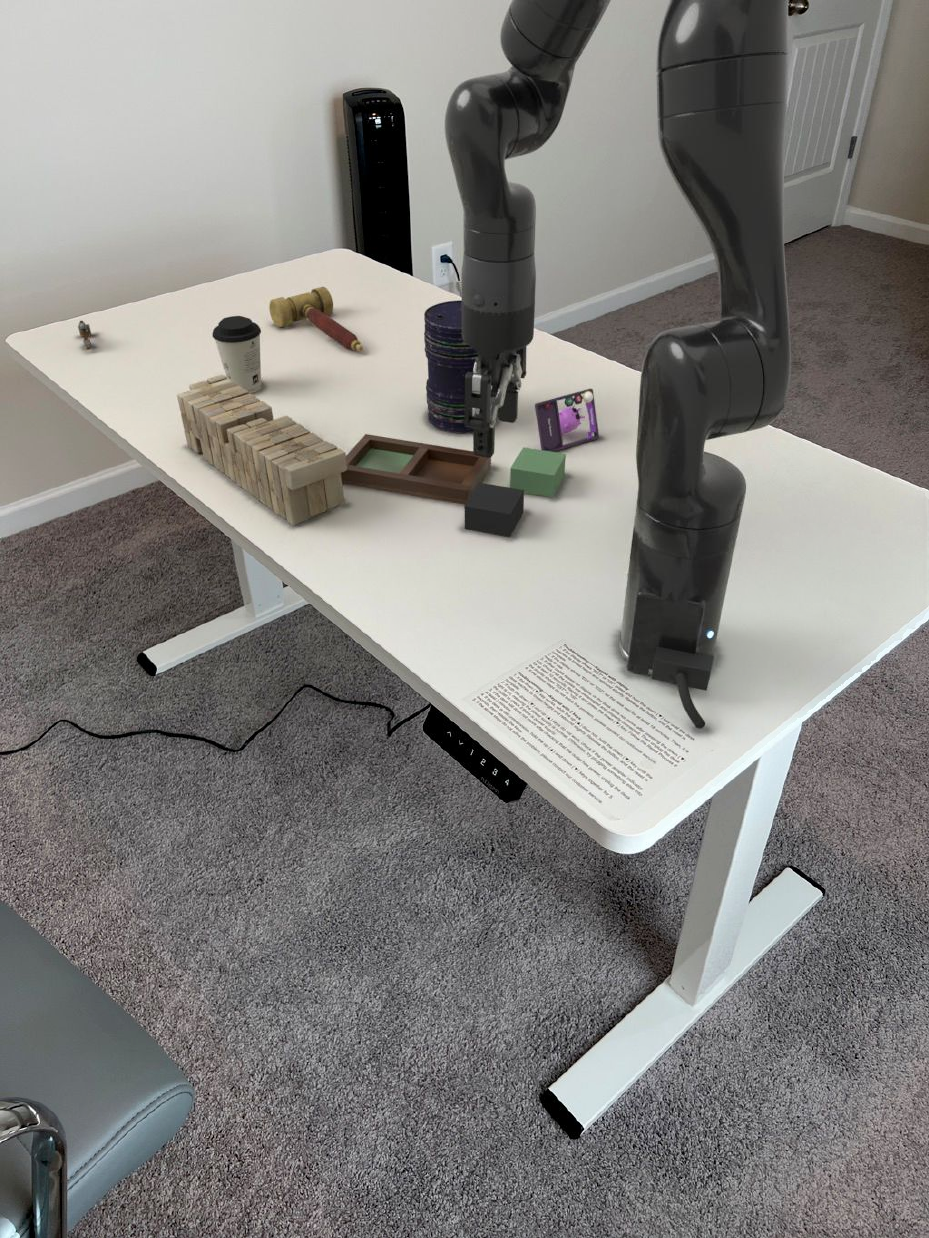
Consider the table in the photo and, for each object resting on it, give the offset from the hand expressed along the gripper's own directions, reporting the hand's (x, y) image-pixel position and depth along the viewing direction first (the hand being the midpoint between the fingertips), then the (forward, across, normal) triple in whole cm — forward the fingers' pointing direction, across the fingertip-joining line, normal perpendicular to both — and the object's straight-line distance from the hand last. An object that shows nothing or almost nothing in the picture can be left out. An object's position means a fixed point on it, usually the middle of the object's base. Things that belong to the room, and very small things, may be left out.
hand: (496, 437), depth 108 cm
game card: (+11, +22, -2) cm, 24 cm away
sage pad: (+11, +10, -2) cm, 15 cm away
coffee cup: (+12, +22, +47) cm, 53 cm away
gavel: (+12, +44, +44) cm, 63 cm away
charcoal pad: (+11, 0, 0) cm, 11 cm away
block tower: (+11, +1, +32) cm, 34 cm away
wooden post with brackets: (+12, +29, +80) cm, 86 cm away
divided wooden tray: (+11, +6, +13) cm, 18 cm away
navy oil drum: (+11, +24, +13) cm, 29 cm away
